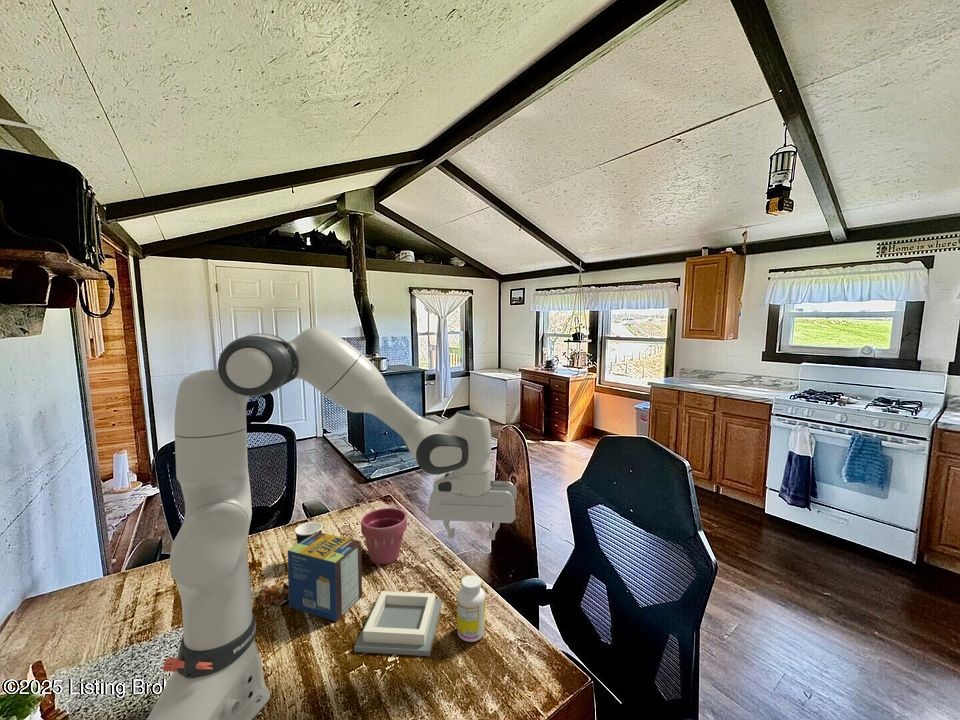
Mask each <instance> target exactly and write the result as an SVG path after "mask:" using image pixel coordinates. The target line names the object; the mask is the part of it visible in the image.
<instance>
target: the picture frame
mask: <svg viewBox="0 0 960 720" xmlns="http://www.w3.org/2000/svg"><path fill="white" fill-rule="evenodd" d="M442 601H443V599H442V598H436V593H434V592H432V593H429V592H413V591H411V592H410V591H408V592H407V591H391V590H389V591H387V590H381V592H380V594H379V595H378V596H377V598H376V600H375V601H374V604H373V607H372V608H371V610H370V612H369V614H368V616H367V619H366V620H365V623H364V625H363V627H362V630H361V631H360V634H359V636H358V638H357V640H356V642H355V645H354V647H353V651H354V653H355V652H356V653H369V654H385V655H404V656H420V657H421V656H422V657H430V656H431V654H432V647H433V643H434V639H435V635H436V631H437V630H436V629H437V626H438V622H439V617H440V613H441V608H442V605H443V604H442Z"/></svg>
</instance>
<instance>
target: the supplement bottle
mask: <svg viewBox="0 0 960 720" xmlns="http://www.w3.org/2000/svg"><path fill="white" fill-rule="evenodd" d="M460 587H461V588H459V589H458V591H457V594H456V600H457V601H456V605H457V607H456V612H457V613H456V625H457V626H456V631H457V632H456V633H457V636H458V637H459V638H460V639H461V640H463V641H464V642H469V643H473V642H477V641H479V640H481V639H483V636H484V635H485V631H486V593H485V590H484V588H482V580H481V578H480V577H479V576H476V575H474V574H473V575H469V574H468V575H466V576H464V577H462V579H461V581H460Z"/></svg>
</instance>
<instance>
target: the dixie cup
mask: <svg viewBox="0 0 960 720" xmlns="http://www.w3.org/2000/svg"><path fill="white" fill-rule="evenodd" d="M323 526H324V525H323V524H322V523H321V522H318V521H310V522H309V521H308V522H304V523H302V524H300V525H298V526H297V527H295V529H294V533H295V536H296V544H298V543H299V542H301V541H302V540H304V539H306V538H307V537H309V536H310V535H312V534H313V533H315V532H320V533H322V532H323V531H322V529H323Z"/></svg>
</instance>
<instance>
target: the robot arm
mask: <svg viewBox="0 0 960 720" xmlns="http://www.w3.org/2000/svg"><path fill="white" fill-rule="evenodd" d="M295 379H297V380H298V379H299V380H303V382H304V381H305V382H306V383H308V384H310V386H312V387H314V388H315V389H316V390H318V392H319V393H321V394H322V395H323V396H325V397H326V398H327V399H329V400H330V401H332V402H333V403H335V404H336V405H338V406H340V407H341V408H343V409H345V410H347V411H349V412H351V413H367V414H370V415H373V416H375V417H376V418H378V419H379V420H381V422H384V424H385V425H386V426H388V427H389V428H390V429H392V430H393V431H394V432H395V433H397V434H398V435H399V436H400V437H401V438H402V439H403V443H404V445H405V447H406V448H407V450H408V452H409V453H410V454H411V455H412V457H413V459H414V461H415V463H416V464H417V466H418V467H419V468H420V469H421V471H423V472H424V473H426V474H429V475H435V476H436V477H435V478H434V481H433V485H432V490H431V491H432V492H431V494H430V497H429V501H428V507H427V516H428V519H430V520H431V521H439V522H441V521H443V522H442V525H443V527H444V528H445V530H446V532H447V538H448V539H455V538H456V528H455V527H452V525H451V524H450V523H451V522H468V523H469V522H475V523H493V527H492V529H491V528H490V529H488V540H489V541H495V540H496V533H497V531H498V530H499V529H500V526H501V525H500V524H502V523H505V524H512V523H513V522H514V521H515V520H516V506H515V500H516V499H517V497H518V489H517V486H516V485H515V484H514V483H512V482H511V481H510V480H509V481H508V480H506V481H505V480H504V481H501V480H492V465H491V460H490V456H491V452H492V430H491V424H490V420H489V418H488V417H487V416H485V415H484V414H483V413H480V412H477V411H472V410H467V409H464V410H458V411H456V413H455V414H454V415H453V416H452V417H450V418H449V419H447V420H446V421H444V422H442V423H441V422H439V421H438V420H436V419H434V418H431V417H427V416H423V415H420V414H418V413H417V412H415V411H414V410H413V409H411V408H410V407H409V406H408V405H407V404H405V402H403V401H402V400H401V399H400V398H398V397H397V395H395V394H394V393H393V392H392V391H391V389H390V387H389V385H388V384H387V381H386V379H385V377H384V376H383V374H382V373H381V372H380V370H379V369H378V368H377V367H376V366H375V365H374V363H372V362H371V360H369V358H367V357H366V356H365V355H364V354H363V353H362V352H360V351H359V350H358V349H357V348H356V347H354V345H351V343H349V342H348V341H346V340H345V339H343V338H342V337H340V335H337V334H336V333H334V332H332V331H330V330H328V329H327V328H326V327H321V326H314V327H310V328H307V329H305V330H304V331H302V332H301V333H299V334H298V335H297V336H296V337H294V338H293V339H291V340H289V341H287V340H285V339H283V338H281V337H279V336H277V335H274V334H269V333H261V332H259V333H252V334H251V333H250V334H248V335H245V336H242V337H239V338H237V339H235V340H233V341H231V342H230V343H228V344H227V345H226V346H225V348H224V349H223V350H222V352H221V354H220V355H219V359H218V362H217V368H215V369H205V370H200V371H196V372H194V373H190V374H189V375H188V376H186V377H185V378H184V379H182V380H181V382H180V385H179V387H178V391H177V395H176V401H175V402H176V403H175V410H174V422H173V423H174V449H175V450H174V451H175V474H176V480H177V481H178V482H179V485H180V488H181V492H182V497H183V501H184V510H185V511H184V512H185V513H184V517H183V523H182V525H181V527H180V529H179V531H178V532H177V535H176V536H175V538H174V539H173V542H172V545H171V549H170V557H169V571H170V575H171V577H172V578H173V580H174V581H175V582H176V585H177V590H178V592H179V596H180V601H181V611H182V612H181V613H182V616H181V617H182V629H183V630H182V632H183V635H182V638H181V642H180V645H179V649H178V654H177V657H174V656H173V657H172V656H170V657H168V658H167V659H166V660H164V664H163V665H162V671H163V672H172V674H171V676H170V677H169V679H168V681H167V683H166V684H165V686H164V688H163V689H162V692H161V694H160V696H159V697H158V699H157V701H156V703H155V704H154V706H153V708H152V710H151V711H150V713H149V715H148V716H147V718H146V720H254V718H255V716H256V715H257V714H258V713H259V712H260V711H261V710H262V708H263V707H264V706H266V704H267V703H268V702H269V700H270V698H271V693H270V689H269V688H268V686H267V685H266V684H265V678H264V677H265V676H264V672H263V670H264V669H263V664H262V663H263V662H262V657H261V654H260V652H259V649H258V647H257V644H256V640H255V638H256V634H257V631H256V629H257V622H256V616H255V614H254V612H253V599H252V592H253V589H252V578H251V574H250V568H249V557H248V541H249V531H250V526H251V521H252V515H253V510H252V508H253V507H252V492H251V483H250V473H249V465H248V464H249V463H248V436H247V435H248V434H247V432H248V431H247V429H248V428H247V405H248V401H249V398H250V397H261V396H265V395H268V394H270V393H272V392H275V391H276V390H278V389H280V388H281V387H283V386H284V385H287V384H288V383H290V382H291V381H294V380H295Z"/></svg>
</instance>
